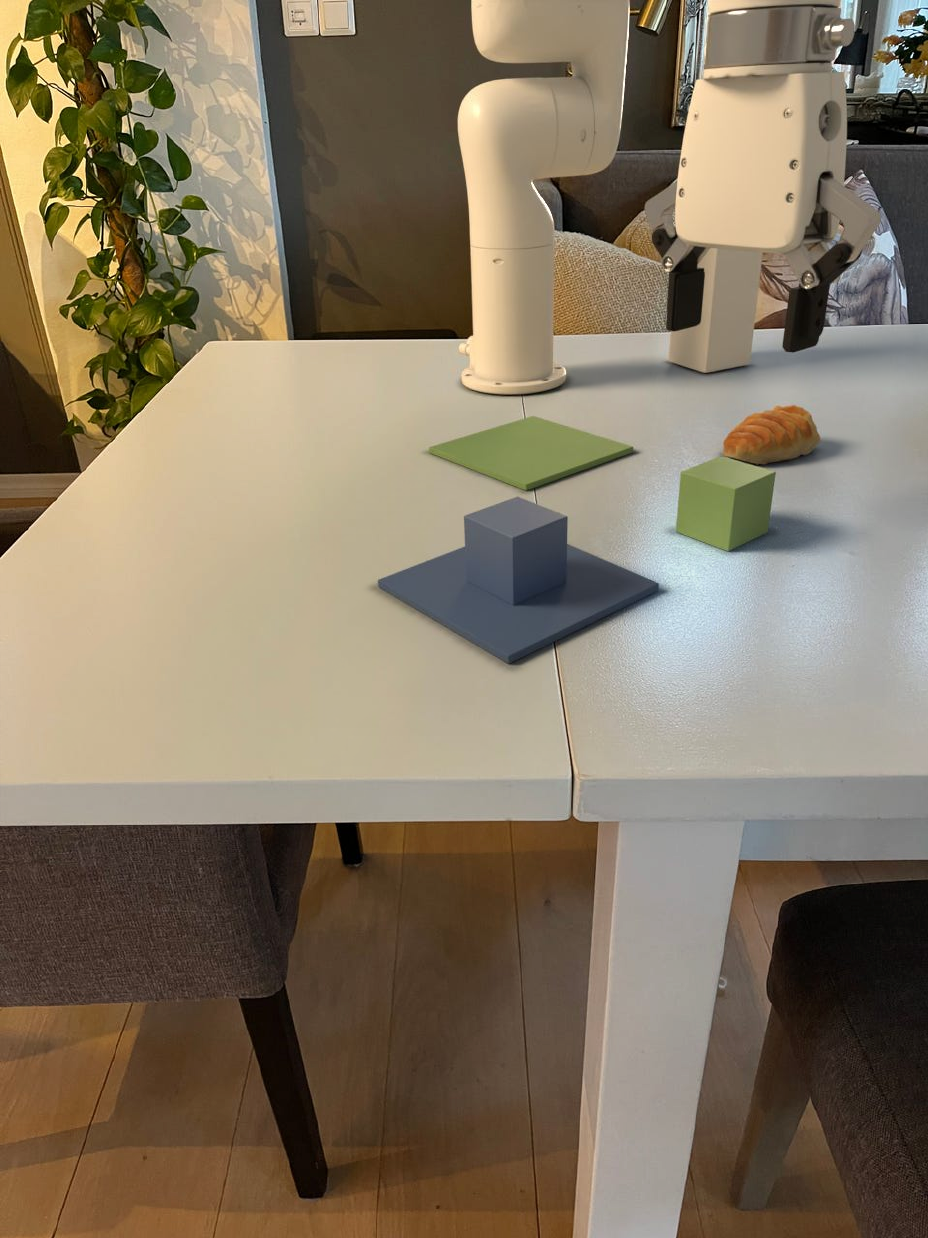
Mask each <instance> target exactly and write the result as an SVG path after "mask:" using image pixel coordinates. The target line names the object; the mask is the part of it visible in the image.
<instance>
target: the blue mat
mask: <svg viewBox="0 0 928 1238" xmlns="http://www.w3.org/2000/svg"><path fill="white" fill-rule="evenodd" d="M377 585H378V588H379V589H381V590H382V591H384V592H386V593H387V594H389V595H391V596H393V597H394V598H396V599H397V600H400V601H401V602H403V603H405V604H407V605H408V606H410V607H412V608H413V609H415V610H417V611H418V612H420V613H422V614H424V615H425V616H427V617H428V618H429V619H432V620H434V621H435V622H436V623H439V624H440V625H442V626H443V627H445V628H447V629H448V630H450V631H452V632H454V633H456V634H457V635H459V636H461V637H462V638H464V639H465V640H467V641H469V642H470V643H472V644H474V645H476V646H478V647H479V648H481V649H483V650H484V651H486V652H488V653H490V654H491V655H493V656H494V657H496V658H498V659H500V661H503V662H504V663H506V664H509V665H510V664H511V663H513V662H516V661H518V660H520V659H522V658H523V657H526V656H528V655H530V654H532V653H534V652H537V651H538V650H540V649H543V648H544V647H546V646H548V645H550V644H552V643H555V642H556V641H558V640H561V639H562V638H564V637H567V636H568V635H571V634H573V633H574V632H577V631H579V630H581V629H584V628H585V627H586V626H589V625H591V624H593V623H595V622H597V621H600V620H602V619H604V618H606V617H607V616H609V615H611V614H614V613H615V612H618V611H620V610H622V609H624V608H626V607H627V606H630V605H632V604H634V603H636V602H638V601H640V600H643V599H644V598H646V597H648V596H650V595H652V594H654V593H656V592H658V591H659V589H660V583H659V582H657V581H655V580H652V579H650V578H648V577H646V576H643V575H640V574H639V573H636V572H634V571H631V570H629V569H627V568H624V567H622V566H620V565H618V564H615V563H612V562H610V561H608V560H606V559H603V558H602V557H599V556H597V555H594V554H592V553H589V552H588V551H585V550H582V549H580V548H578V547H576V546H573V545H571V544H568V543H567V574H566V582H565V583H563V584H561V585H558V586H556V587H554V588H552V589H549V590H547V591H545V592H543V593H541V594H538V595H536V596H534V597H532V598H529V599H527V600H525V601H523V602H520V603H518V604H516V605H512V604H510V603H508V602H506V601H504V600H502V599H500V598H498V597H496V596H495V595H493V594H491V593H489V592H487V591H485V590H483V589H481V588H479V587H477V586H475V585H474V584H472V583H470V582H468V581H467V580H466V558H465V546H461V547H459V548H456V549H454V550H452V551H449V552H447V553H443V554H441V555H439V556H436V557H433V558H431V559H429V560H426V561H423V562H421V563H418V564H415V565H413V566H410V567H408V568H405V569H402V570H400V571H398V572H394V573H393V574H389V575H387V576H384V577H382V578H379V579H377Z"/></svg>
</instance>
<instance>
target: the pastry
mask: <svg viewBox="0 0 928 1238" xmlns="http://www.w3.org/2000/svg"><path fill="white" fill-rule="evenodd" d="M820 442H821V435H820V433H819V432H818V428H817V425H816V424H815V422H814V420H813V417H812V414H811V413H810V412H809V411H808V410H806V409H805V408H804V407H801V406H798V405H795V404H790V405H785V406H780V405H776V406H775V407H773V408H772V409H770V410H769V409H768V410H764V411H762V412H755V413H751V414H750V415H747V416H746V417H745V418H744V420H742V421H741V422H740V423H738V424H737V425H736V426H735V427H734V428H733V429H732V430H731V431H730V432H729V433H728V434H727V436H726V438H724V440H723V457H730V458H732V459H735V460H738V461H742V462H746V463H749V464H755V465H756V466H758V465H759V464H760V465H767V464H768V463H781V462H783V461H789V460H793V459H796V458H799V457H800V456H802V455H803V456H806V455H809V454H810V453H811V452H812V451H813V450H814V449H815V448H816V447H817V446H818V445H819V443H820Z"/></svg>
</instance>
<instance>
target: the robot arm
mask: <svg viewBox="0 0 928 1238" xmlns="http://www.w3.org/2000/svg"><path fill="white" fill-rule="evenodd" d="M470 2H471V5H470V6H471V7H470V8H471V26H472V34H473V35H472V36H473V40H474V44H475V46H476V49H477V51H478V52H479V54H480V55H481V56H482V57H484V58H485V59H487V60H489V61H493V62H495V63H502V64H503V63H504V64H539V63H542V64H543V63H570V65H571V74H572V75H571V76H559V77H540V76H539V77H514V78H502V79H494V80H490V81H487V82H483V83H481V84H479V85H477V86H474V87H473V88H472V89H470V90H469V91H468V93H466V95H465V96H464V97H463V99H462V101H461V103H460V105H459V110H458V112H457V113H458V115H457V134H458V135H457V136H458V143H459V148H460V153H461V159H462V164H463V170H464V176H465V183H466V184H465V186H466V193H467V203H468V217H469V218H468V219H469V241H470V242H469V245H470V276H471V307H472V308H471V309H472V310H471V311H472V335H470V336H469V337H467V340H466V343H465V342H462V343H460V344H459V346H458V352H459V354H461V355H463V356H469V366H467V367H466V368H465V369H463V370H462V372H461V383H462V385H463V386H465V387H466V388H467V389H469V390H472V391H476V392H480V393H485V394H494V395H527V394H536V393H541V392H546V391H549V390H553V389H557V388H558V387H560V386H562V385H563V384H564V383H565V382H566V380H567V370H566V368H565V367H564V366H562V365H561V364H558V363H556V362H554V325H555V323H554V322H555V321H554V316H555V314H554V313H555V311H554V310H555V241H556V240H555V239H556V238H555V235H556V232H555V221H554V219H553V215H552V213H551V210H550V208H549V207H548V205H547V203H546V202H545V200H544V199H543V197H542V196H541V195H540V193H539V192H538V190H537V189H536V187H535V185H534V181H535V180H541V179H543V180H544V179H548V178H566V177H577V176H588V175H593V174H597V173H599V172H602V171H603V170H604V171H605V170H606V168H608V167H609V165H610V164H611V163H612V162H613V160H614V158H615V156H616V153H617V150H618V146H619V142H620V137H621V128H622V119H623V108H624V107H623V105H624V95H625V94H624V93H625V81H626V80H625V79H626V65H627V54H628V42H629V41H628V40H629V28H630V27H629V26H630V0H471V1H470ZM840 5H841V0H708V6H707V7H708V8H707V16H708V17H707V21H706V31H705V32H706V33H705V47H704V59H703V60H704V61H703V73H702V78H700V79H696V80H695V84H694V88H693V91H692V95H691V99H690V102H689V103H690V104H689V108H688V113H687V116H686V122H685V127H684V132H683V137H682V145H681V150H680V158H679V165H678V171H677V173H678V174H677V181H675V182H674V183H673V184H671V185H670V186H667V187H666V188H664V189H663V190H661V191H660V192H659V193H657V194H656V195H654V196H653V197H651V198H649V199H648V200H647V201H645V204H644V207H643V209H644V213H645V217H646V219H647V223H648V227H649V230H650V232H652V233H651V242H652V245H653V247H654V248H655V250H656V251H657V253H658V254H659V256H660V257H661V268H662V270H663V271H664V272H665V273H668V283H667V285H668V286H667V298H666V299H667V301H666V320H665V321H666V322H665V326H666V327H665V328H666V330H667V331H668V332H671V331H673V332H675V331H679V330H683V329H687V328H691V327H695V326H697V325H699V324H700V322H701V316H702V304H703V292H704V280H705V272H704V268H699V267H698V268H697V265H698V263H699V262H700V261H701V259H702V258H703V257H704V256H705V254H706V253H707V252H708V250H709V249H710V248H718V249H727V250H738V251H749V252H760V253H763V254H775V255H776V254H777V255H778V254H783V255H784V257H785V259H786V261H787V262H788V265H789V267H790V268H791V270H792V273H793V274H794V276H795V278H796V280H797V281H798V286H795V287H791V288H790V291H788V298H787V306H786V314H785V322H784V331H783V337H782V346H781V347H782V349H783V350H784V352H786V353H793V354H794V353H797V352H800V351H803V350H807V349H810V348H813V347H816V346H817V345H818V343H819V341H820V337H821V335H823V331H824V328H825V324H826V323H825V322H826V314H827V307H828V303H829V302H828V300H829V294H830V289H831V285H832V284H835V283H837V282H838V281H839V279H840V278H841V276H842V274H844V273H845V272H846V270H848V269H849V268H850V267H852V265H853V264H854V263H856V262H857V261H858V260H859V259H860V258H861V256H862V253H863V249H864V247H866V246H867V244H868V243H869V242H870V240H871V238H872V236H874V233H875V232H876V230H877V229H878V227H879V225H880V223H881V221H882V214H881V212H880V211H879V210H878V209H877V208H875V207H874V206H872V205H871V204H870V203H868V202H867V201H865V200H864V199H863V198H861V197H860V196H859V195H857V194H856V193H854V192H853V191H852V190H850V189H849V188H847V186H844V185H845V177H846V176H845V174H846V161H847V160H846V159H847V140H848V139H847V138H848V107H847V89H846V75H845V71H832V67H833V61H835V59H836V53H837V50H838V48H839V47H848V46H849V45H851V43H852V42H853V39H854V37H855V32H856V26H855V25H856V24H855V21H854V19H852V18H849V17H848V18H842V17H841V15H842V14H841V13H842V8H841V7H840ZM673 214H674V215H675V216H674V217H673ZM674 218H675V219H674ZM840 222H841V223H842V225H843V230H842V233H841V234H840V236H839V240H838V241H837V243H836V244H834V245H833V246H832V247H831V248H830V246H829V245H828V244H829V243H831V242H832V241H834V239H835V238H836V237H837V234H838V230H839V226H840ZM674 224H675V225H674Z"/></svg>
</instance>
